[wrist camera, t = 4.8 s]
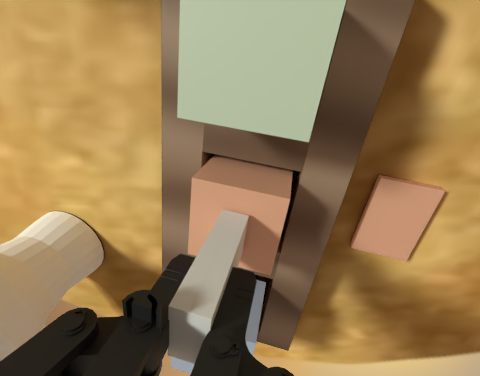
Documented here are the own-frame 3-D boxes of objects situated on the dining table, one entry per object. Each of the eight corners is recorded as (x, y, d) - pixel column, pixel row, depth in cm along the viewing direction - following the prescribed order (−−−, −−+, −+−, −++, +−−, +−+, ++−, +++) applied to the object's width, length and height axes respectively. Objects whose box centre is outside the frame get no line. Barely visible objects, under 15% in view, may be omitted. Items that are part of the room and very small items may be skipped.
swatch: (378, 174, 18) (381, 178, 17) (441, 187, 17) (445, 190, 17) (350, 243, 20) (351, 248, 20) (403, 256, 20) (406, 261, 19)
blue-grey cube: (200, 264, 21) (172, 318, 16) (266, 282, 20) (255, 343, 15) (196, 309, 23) (171, 367, 19) (255, 326, 22) (243, 391, 18)
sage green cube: (223, -11, 13) (181, -54, 8) (335, 1, 12) (356, -38, 7) (213, 102, 15) (177, 117, 11) (306, 119, 14) (308, 142, 10)
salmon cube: (218, 151, 18) (191, 177, 14) (293, 166, 18) (290, 199, 13) (211, 214, 21) (187, 253, 16) (277, 229, 20) (270, 275, 16)
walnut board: (186, -42, 15) (160, -66, 12) (404, -20, 13) (430, -42, 11) (176, 288, 27) (162, 313, 24) (289, 321, 25) (288, 350, 23)
